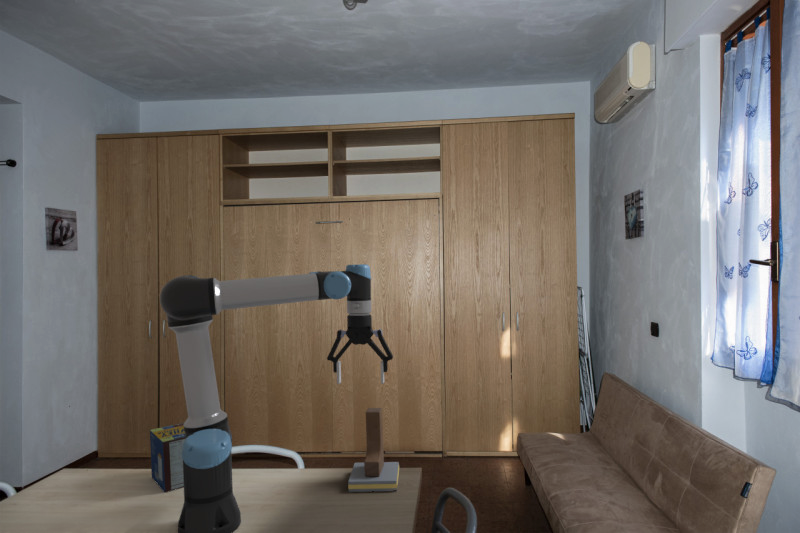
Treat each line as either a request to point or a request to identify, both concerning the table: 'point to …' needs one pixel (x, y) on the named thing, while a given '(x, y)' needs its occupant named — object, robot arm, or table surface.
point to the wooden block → (374, 443)
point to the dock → (374, 478)
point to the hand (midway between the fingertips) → (360, 383)
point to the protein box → (167, 456)
